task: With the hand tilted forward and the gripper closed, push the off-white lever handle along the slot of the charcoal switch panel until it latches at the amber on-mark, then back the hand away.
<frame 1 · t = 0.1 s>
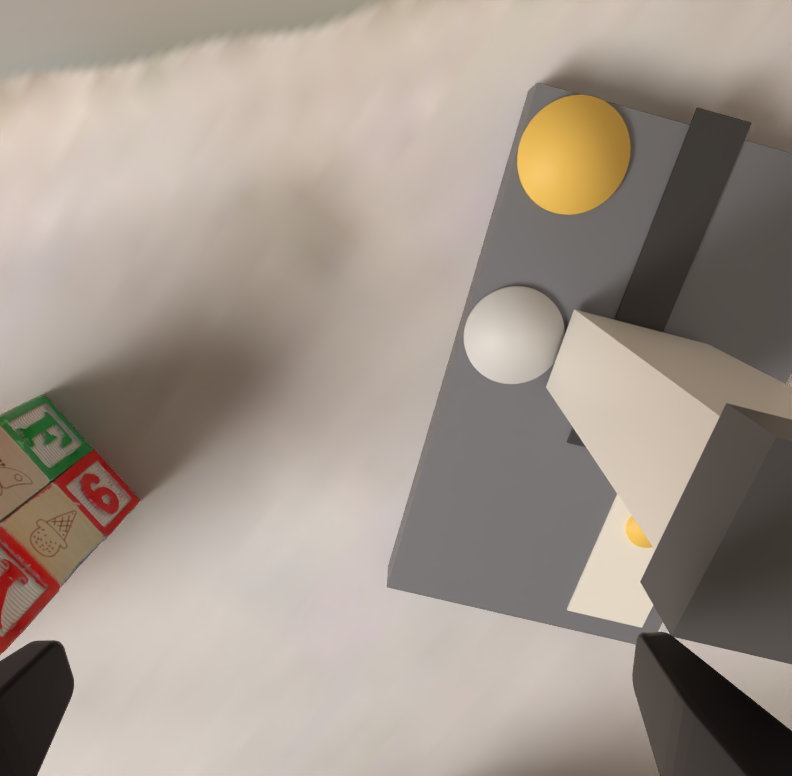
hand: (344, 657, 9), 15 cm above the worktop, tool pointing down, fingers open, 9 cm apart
switch panel: (591, 398, 23), on the worktop
lever: (706, 432, 15), point 8 cm above the worktop, slide at 0.0 cm
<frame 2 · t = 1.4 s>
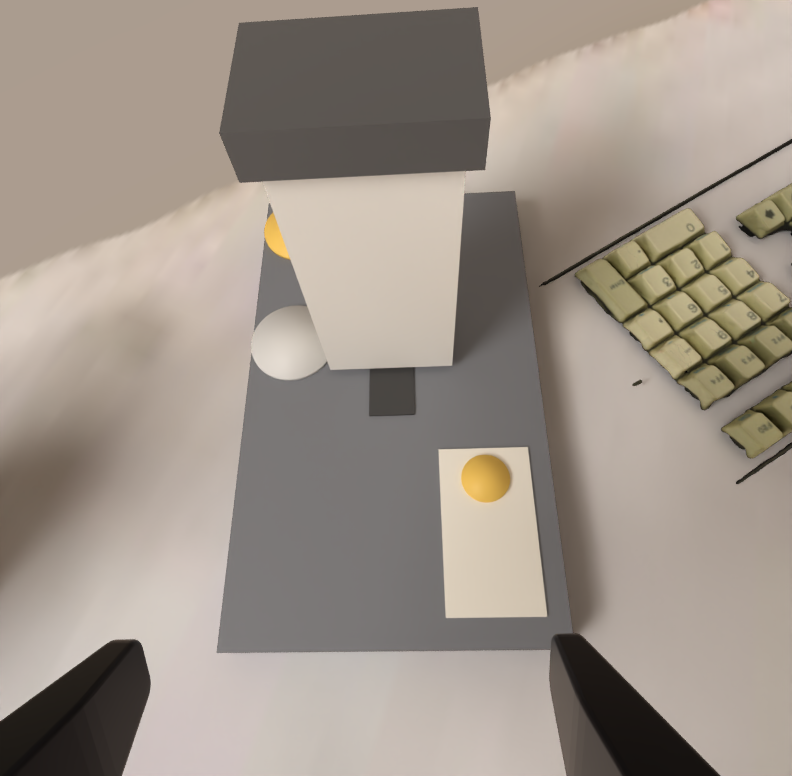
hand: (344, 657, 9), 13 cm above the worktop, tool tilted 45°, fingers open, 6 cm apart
switch panel: (393, 396, 24), on the worktop
lever: (378, 241, 18), point 8 cm above the worktop, slide at 0.0 cm
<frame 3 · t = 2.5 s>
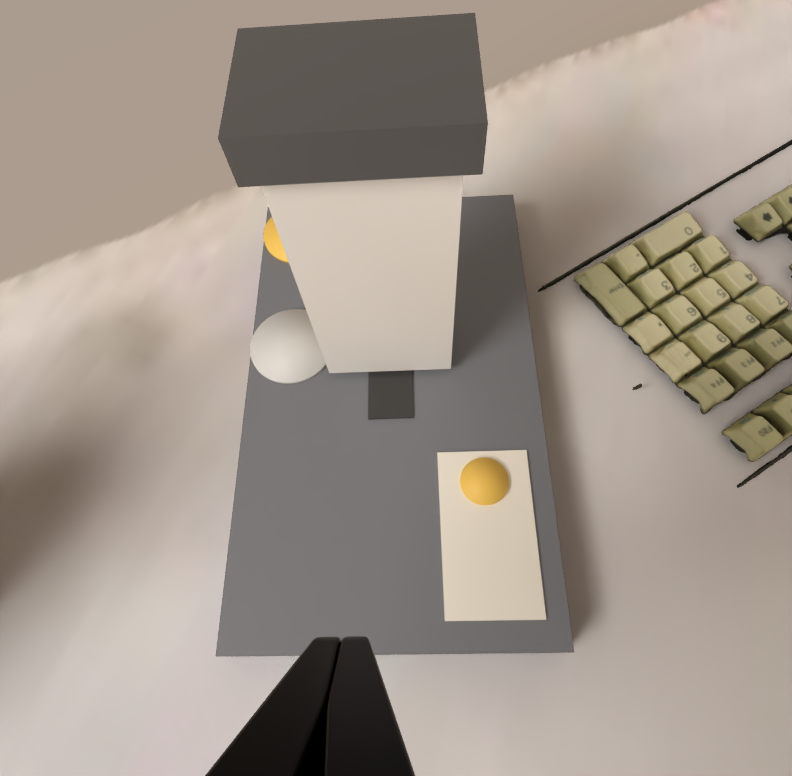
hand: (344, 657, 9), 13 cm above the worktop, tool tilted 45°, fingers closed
switch panel: (392, 400, 24), on the worktop
lever: (376, 245, 18), point 8 cm above the worktop, slide at 0.0 cm
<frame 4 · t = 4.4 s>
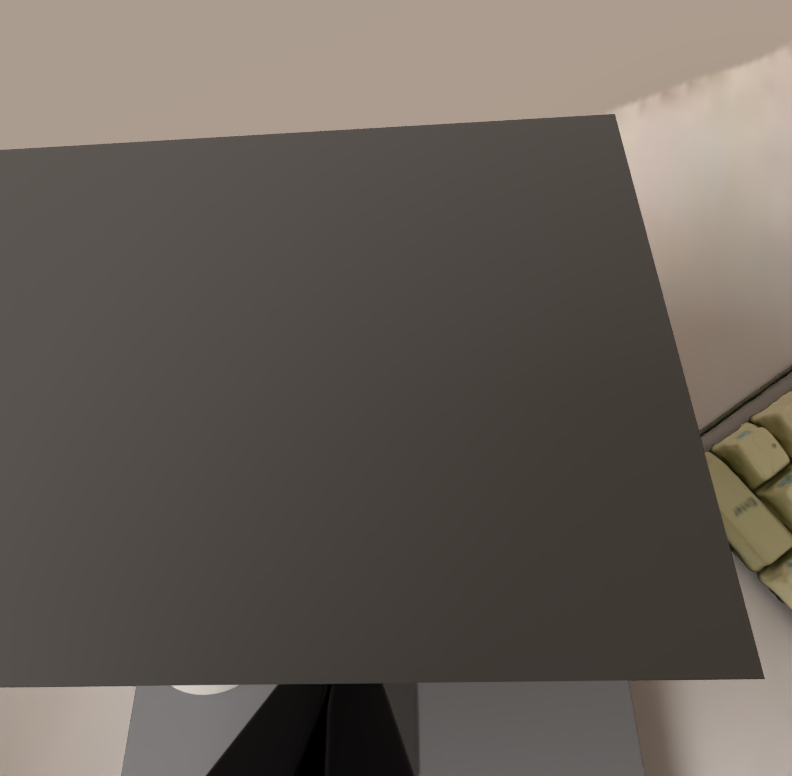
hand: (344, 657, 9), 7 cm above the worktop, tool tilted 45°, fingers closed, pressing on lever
switch panel: (382, 698, 15), on the worktop
lever: (342, 534, 9), point 8 cm above the worktop, slide at 0.7 cm, touching gripper
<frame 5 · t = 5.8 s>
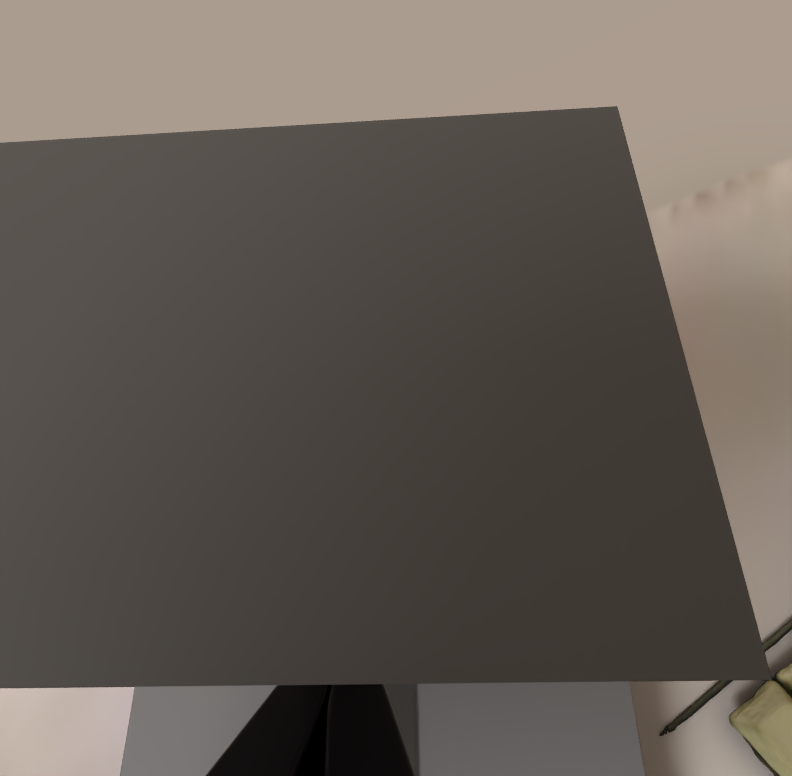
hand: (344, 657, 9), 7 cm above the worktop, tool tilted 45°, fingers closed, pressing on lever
lever: (341, 533, 9), point 8 cm above the worktop, slide at 6.7 cm, touching gripper
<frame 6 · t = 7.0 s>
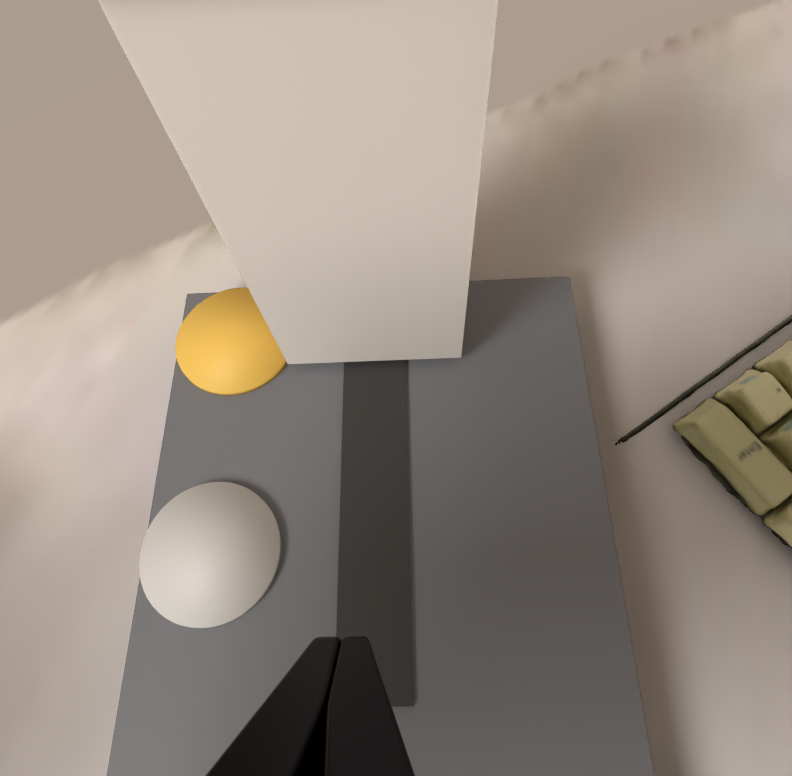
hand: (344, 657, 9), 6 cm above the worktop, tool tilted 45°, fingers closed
switch panel: (379, 635, 15), on the worktop
lever: (345, 158, 11), point 8 cm above the worktop, slide at 6.7 cm
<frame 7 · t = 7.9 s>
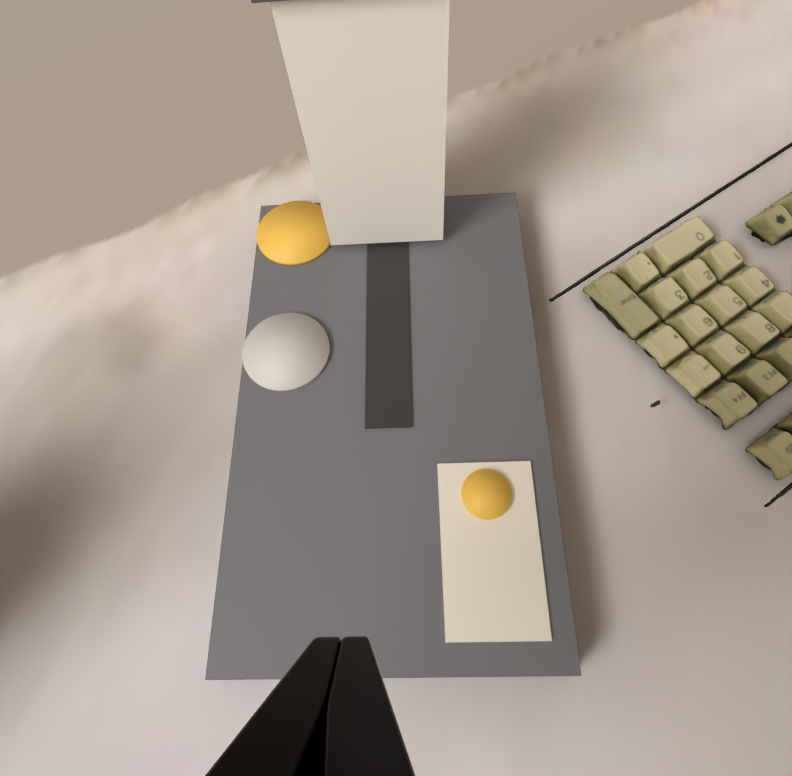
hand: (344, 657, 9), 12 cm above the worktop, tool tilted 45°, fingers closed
switch panel: (390, 407, 23), on the worktop
lever: (374, 99, 20), point 8 cm above the worktop, slide at 6.7 cm
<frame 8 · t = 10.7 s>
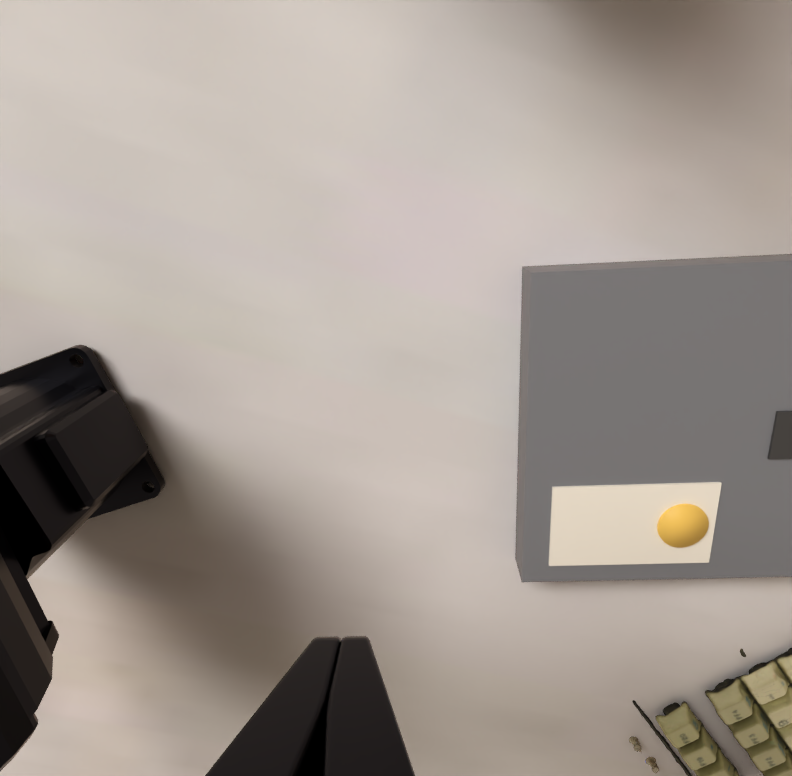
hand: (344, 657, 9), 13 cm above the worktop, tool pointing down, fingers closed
switch panel: (788, 417, 21), on the worktop
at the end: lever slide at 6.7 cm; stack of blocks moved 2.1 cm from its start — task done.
